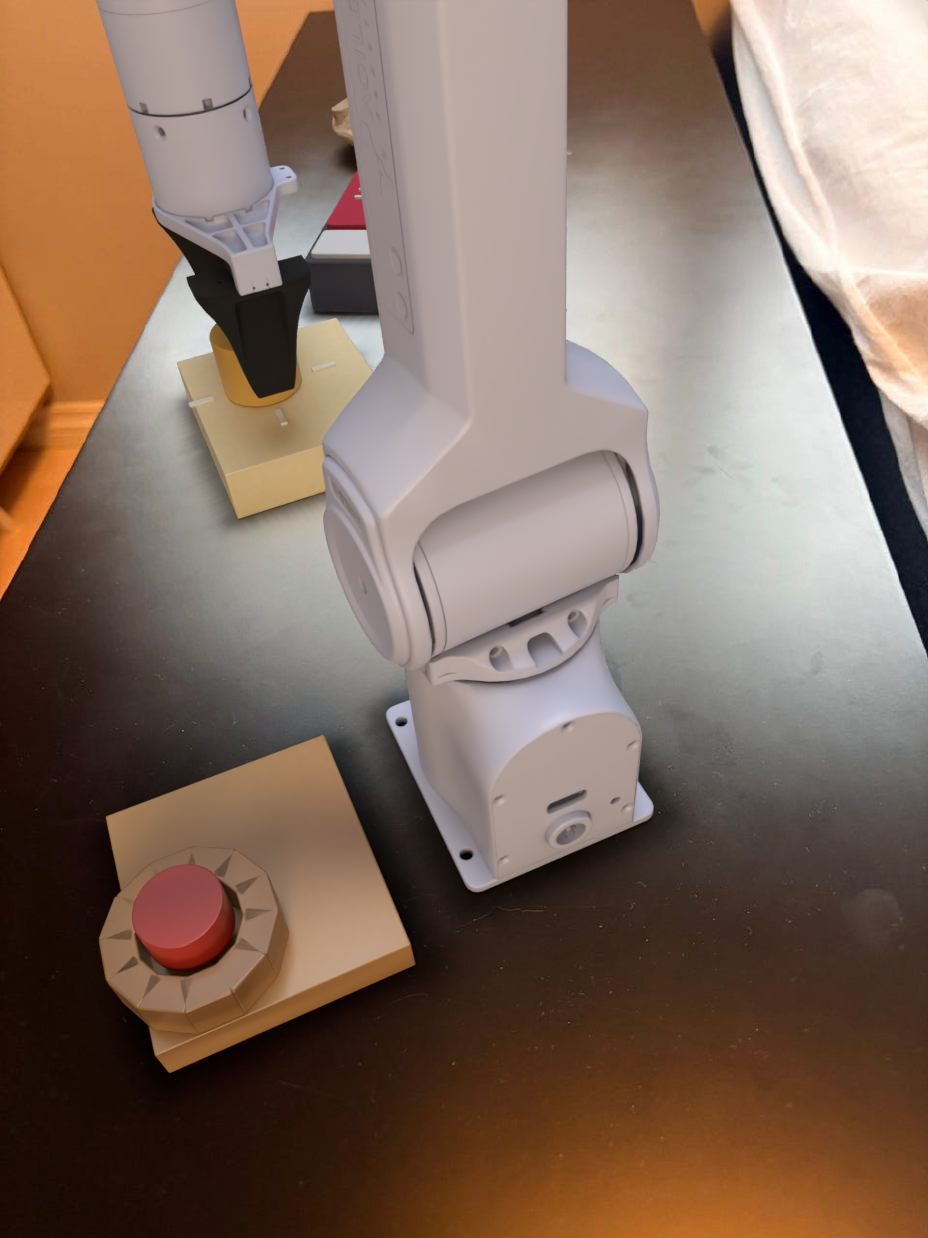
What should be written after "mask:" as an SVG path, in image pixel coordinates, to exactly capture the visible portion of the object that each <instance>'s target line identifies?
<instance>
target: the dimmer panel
mask: <svg viewBox="0 0 928 1238" xmlns="http://www.w3.org/2000/svg"><path fill="white" fill-rule="evenodd" d="M297 358H298V362H299V367H300V371H301V376H302V381H301V385H300V387H299V388H298V390H297V391H296V392H295V393H294V394H292V395H291V396H290V397H288V398H286V399H285V400H283V401H280V402H278V403H275V404H271V405H267V406H259V407H250V406H243V405H239V404H236V403H234V402H232V401H231V400H230V399H229V398H228V397H227V396H226V394H225V391H224V388H223V384H222V381H221V377H220V374H219V370H218V367H217V363H216V360H215V357H214V353H213V351H211V352H207V353H204V354H200V355H197V356H194V357H190V358H186V359H182V360H178V361H176V365H177V369H178V371H179V375H180V378H181V381H182V384H183V387H184V391H185V393H186V396H187V399H188V403H187V404H188V406H189V408H190V409H191V410H192V412H193V415H194V417H195V420H196V422H197V424H198V427H199V429H200V432H201V434H202V436H203V439H204V441H205V444H206V446H207V448H208V450H209V454H210V455H211V458H212V460H213V463H214V465H215V468H216V470H217V472H218V475H219V477H220V480H221V482H222V485H223V487H224V489H225V491H226V494H227V496H228V499H229V500H230V501H229V502H230V503H231V505H232V508H233V510H234V513H235V515H236V517H237V519H238V520H240V519H243V518H246V517H249V516H252V515H255V514H259V513H261V512H264V511H265V512H266V511H268V510H271V509H274V508H277V507H281V506H283V505H287V504H289V503H290V504H291V503H292V502H297V501H299V500H303V499H305V498H309V497H312V496H316V495H318V494H321V493H324V492H325V493H326V491H325V483H324V476H323V470H322V463H323V461H324V459H325V456H324V451H323V447H322V440H323V438H324V436H325V434H326V433H327V431H328V430H329V429H330V427H331V426H332V425H333V423H334V422H335V420H336V419H337V418H338V416H339V415H340V414H341V412H342V411H343V410H344V408H345V407H346V406H347V405H348V403H349V402H350V401H351V400H352V398H353V397H354V396H355V395H356V393H357V392H358V391H359V390H360V388H361V387H362V386H363V385H364V383H365V382H366V381H367V380H368V378H369V377H370V376H371V374H372V373H373V372H374V370H373V369H372V368H371V367H370V365H369V364H368V362H367V361H366V360H365V358H364V357H363V355H362V353H361V352H360V351H359V349H358V347H357V346H356V345H355V343H354V342H353V340H352V339H351V337H350V335H349V334H348V333H347V331H346V330H345V328H344V327H343V326H342V324H341V323H340V321H339V319H338V318H337V317H334V318H330V319H327V320H323V321H320V322H316V323H312V324H308V325H304V326H301V327H298V331H297Z"/></svg>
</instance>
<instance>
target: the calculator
mask: <svg viewBox="0 0 928 1238" xmlns="http://www.w3.org/2000/svg"><path fill="white" fill-rule="evenodd" d="M304 259H305V260H306V262H307V263H308V265H309V266H310V269H311V285H310V287H309V290H308V292H309V297H310V302H311V308H312V310H313V311H314V312H336V313H337V312H340V313H341V312H345V313H346V312H347V313H379V312H378V305H377V298H376V291H375V284H374V278H373V271H372V264H371V257H370V250H369V243H368V237H367V230H366V223H365V216H364V209H363V202H362V196H361V189H360V182H359V175H358V170H356V172H355V173H354V175H353V176H352V178H351V179H350V181H349V183H348V185H347V186H346V188H345V190H344V191H343V193H342V194H341V196H340V198H339V200H338V202H337V203H336V205H335V207H334V208H333V210H332V211H331V213H330V215H329V216H328V219H327V220H326V222H325V223H324V226H323V227H322V228H321V230H320V232H319V234H318V236H317V238H316V239H315V240H314V243H313V244H312V246H311V248H309V250H308V252H307V254H306V256H305V258H304Z"/></svg>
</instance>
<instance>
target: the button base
mask: <svg viewBox="0 0 928 1238" xmlns="http://www.w3.org/2000/svg"><path fill="white" fill-rule="evenodd" d="M105 820H106V826H107V830H108V835H109V840H110V845H111V850H112V854H113V859H114V864H115V869H116V874H117V879H118V883H119V889H120V892H118V893H117V895H116V896H115V897H114V898H113V900H112V903H111V905H110V908H109V911H108V913H107V916H106V919H105V921H104V924H103V926H102V929H101V932H100V934H99V936H98V944H99V951H100V956H101V961H102V967H103V972H104V978H105V981H106V983H107V984H108V986H109V988H111V989H112V991H113V992H114V993H115V994H116V996H117V997H118V998H119V1000H120V1001H121V1002H122V1003H123V1004H124V1005H125V1006H126V1007H127V1008H128V1009H129V1010H130V1011H131V1012H132V1013H134V1015H136V1016H137V1017H138V1018H139V1019H141V1021H143V1022H144V1023H145V1024H146V1025H147V1026H148V1029H149V1035H150V1040H151V1044H152V1049H153V1055H154V1056H155V1057H156V1059H157V1060H158V1061H159V1062H160V1064H162V1066H163V1067H164V1069H165V1070H166V1071H167V1072H168V1074H170V1073H173V1072H175V1071H177V1070H180V1069H182V1068H184V1067H187V1066H189V1065H192V1064H193V1063H197V1062H198V1061H200V1060H203V1059H204V1058H207V1057H209V1056H212V1055H213V1054H216V1053H219V1052H221V1051H223V1050H226V1049H228V1048H230V1047H232V1046H234V1045H236V1044H239V1043H241V1042H243V1041H246V1040H248V1039H250V1038H253V1037H254V1036H257V1035H260V1034H262V1033H263V1032H266V1031H269V1030H271V1029H273V1028H275V1027H277V1026H279V1025H280V1026H281V1025H282V1024H284V1023H287V1022H288V1021H291V1020H293V1019H296V1018H297V1017H300V1016H302V1015H304V1014H307V1013H309V1012H311V1011H314V1010H317V1009H319V1008H320V1007H322V1006H325V1005H328V1004H330V1003H332V1002H334V1001H336V1000H339V999H341V998H343V997H345V996H348V995H350V994H352V993H355V992H357V991H359V990H361V989H363V988H366V987H368V986H371V985H373V984H374V983H377V982H380V981H381V980H384V979H386V978H389V977H391V976H393V975H395V974H397V973H400V972H403V971H405V970H406V969H409V968H411V967H413V966H415V965H416V960H415V956H414V951H413V948H412V947H413V946H412V944H411V941H410V938H409V936H408V934H407V931H406V929H405V927H404V923H403V921H402V919H401V918H400V914H399V912H398V909H397V907H396V905H395V903H394V900H393V898H392V895H391V893H390V890H389V888H388V886H387V883H386V881H385V878H384V876H383V874H382V871H381V869H380V867H379V864H378V862H377V859H376V857H375V854H374V852H373V849H372V847H371V845H370V842H369V839H368V837H367V835H366V832H365V830H364V828H363V826H362V823H361V821H360V819H359V816H358V814H357V811H356V809H355V806H354V804H353V801H352V799H351V797H350V794H349V792H348V790H347V786H346V785H345V782H344V780H343V778H342V775H341V773H340V770H339V767H338V765H337V763H336V761H335V758H334V756H333V753H332V750H331V748H330V746H329V744H328V742H327V739H326V737H325V735H324V734H321V735H319V736H316V737H314V738H311V739H308V740H305V741H302V742H300V743H298V744H294V745H292V746H289V747H287V748H284V749H281V750H279V751H277V752H273V753H271V754H269V755H268V754H267V755H265V756H263V757H260V758H257V759H255V760H252V761H250V762H247V763H244V764H242V765H239V766H237V767H233V768H231V769H229V770H226V771H223V772H220V773H217V774H215V775H212V776H210V777H207V778H204V779H201V780H199V781H196V782H194V783H191V784H189V785H186V786H183V787H180V788H178V789H176V790H175V789H174V790H173V791H170V792H167V793H165V794H161V795H160V796H157V797H154V798H151V799H150V800H149V799H148V800H146V801H143V802H141V803H138V804H135V805H132V806H130V807H127V808H125V809H122V810H120V811H116V812H114V813H111V814H109V815H106V816H105ZM184 864H192V865H198V866H202V867H204V868H206V869H208V870H210V871H211V872H212V873H214V874H215V875H216V877H217V878H218V879H219V881H220V883H221V885H222V887H223V889H224V890H225V892H226V894H227V896H228V898H229V900H230V902H231V904H232V906H233V909H234V912H235V920H236V922H235V929H234V933H233V936H232V938H231V940H230V942H229V944H228V946H227V947H226V949H225V950H224V951H223V952H222V953H221V954H220V955H219V956H218V957H217V958H216V959H215V960H213V961H212V962H211V963H209V964H207V965H205V966H203V967H201V968H198V969H196V970H191V971H173V970H169V969H166V968H164V967H162V966H161V965H159V964H158V963H157V962H156V961H155V960H154V959H153V957H152V956H151V954H150V953H149V951H148V950H147V949H146V947H145V946H144V944H143V943H142V941H141V940H140V938H139V937H138V935H137V934H136V932H135V930H134V927H133V924H132V910H133V905H134V902H135V900H136V897H137V895H138V894H139V892H140V890H141V889H142V888H143V886H144V885H145V884H146V883H147V882H148V881H149V880H150V879H151V878H152V877H154V876H155V875H157V874H158V873H160V872H161V871H163V870H165V869H168V868H170V867H173V866H177V865H184Z"/></svg>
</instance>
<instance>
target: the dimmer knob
mask: <svg viewBox="0 0 928 1238" xmlns="http://www.w3.org/2000/svg"><path fill="white" fill-rule="evenodd" d="M208 337H209V338H208V339H209V342H210V346H211V350H212V352H213V353H214V357H215V360H216V363H217V367H218V370H219V374H220V377H221V381H222V384H223V388H224V391H225V394H226V396H227V397H228V398H229V399H230V400H231V401H232V402H234V403H236V404H239V405H243V406H250V407H259V406H267V405H271V404H275V403H278V402H280V401H283V400H285V399H286V398H288V397H290V396H291V395H292V394H294V393H295V392H296V391H297V390H298V388H299V387H300V385H301V381H302V376H301V371H300V367H299V362H298V358H297V364H296V381H295V388H294V389H292V390H288V391H285V392H281V393H278V394H275V395H271V396H268V397H264V398H258V397H257V396H256V394H255V393H254V391H253V390H252V388H251V386H250V384H249V383H248V381H247V379H246V377H245V375H244V373H243V371H242V368H241V366H240V364H239V362H238V360H237V357H236V355H235V353H234V351H233V348H232V346H231V344H230V342H229V340H228V339H227V337H226V335H225V334H224V332H223V331H222V330H221V328H220V327H219V326H218V325H217V323H216V322H215V324H214V325H213V326H212V328H211V329H210V332H209V336H208Z"/></svg>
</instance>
